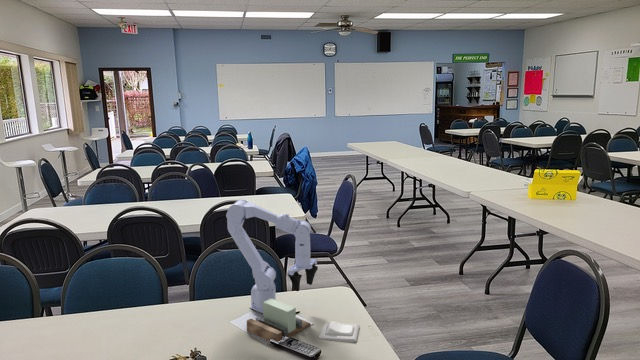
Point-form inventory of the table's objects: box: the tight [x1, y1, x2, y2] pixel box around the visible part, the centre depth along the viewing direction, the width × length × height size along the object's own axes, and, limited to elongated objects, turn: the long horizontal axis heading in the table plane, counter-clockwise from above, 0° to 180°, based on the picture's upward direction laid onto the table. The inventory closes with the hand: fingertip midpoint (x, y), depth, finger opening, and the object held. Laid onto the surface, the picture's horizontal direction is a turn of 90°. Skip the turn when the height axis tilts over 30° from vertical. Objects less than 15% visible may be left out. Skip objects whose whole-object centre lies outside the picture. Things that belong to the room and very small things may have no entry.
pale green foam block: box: [262, 298, 297, 333], centre depth 160 cm, size 5×12×8 cm, turn 51°
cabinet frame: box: [246, 316, 312, 342], centre depth 160 cm, size 15×17×4 cm
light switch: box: [318, 320, 360, 343], centre depth 157 cm, size 11×4×13 cm
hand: (303, 287), depth 172 cm, fingers open, 7 cm apart
